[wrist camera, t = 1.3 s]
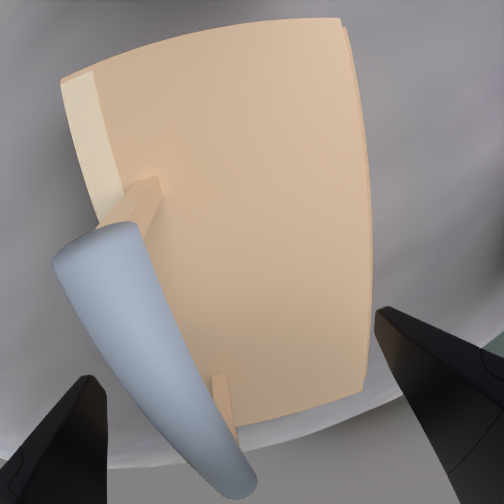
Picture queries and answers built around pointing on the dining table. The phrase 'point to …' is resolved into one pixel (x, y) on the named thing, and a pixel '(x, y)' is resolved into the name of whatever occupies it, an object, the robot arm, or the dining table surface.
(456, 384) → the robot arm
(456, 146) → the dining table surface
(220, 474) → the flap
